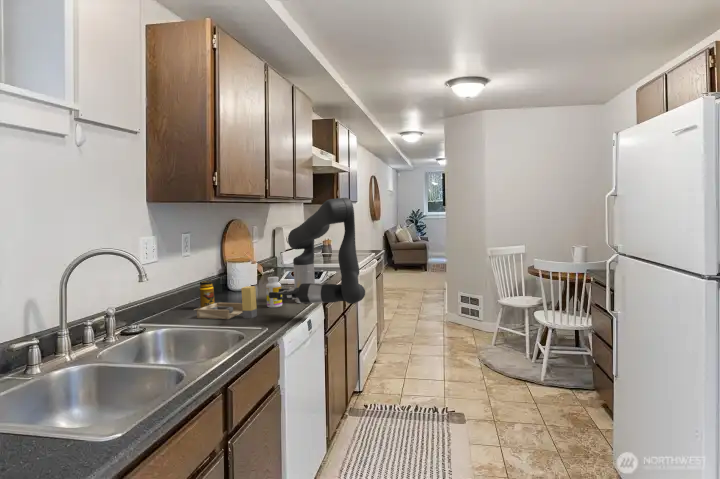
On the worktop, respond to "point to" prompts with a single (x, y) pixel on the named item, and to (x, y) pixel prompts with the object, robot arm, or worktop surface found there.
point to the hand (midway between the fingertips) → (274, 293)
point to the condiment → (206, 294)
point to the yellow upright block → (249, 302)
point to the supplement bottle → (273, 287)
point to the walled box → (220, 311)
